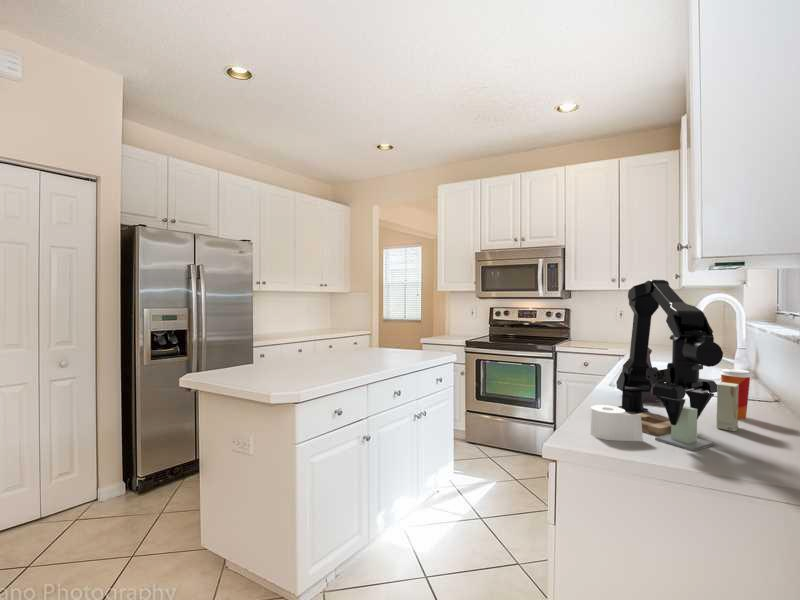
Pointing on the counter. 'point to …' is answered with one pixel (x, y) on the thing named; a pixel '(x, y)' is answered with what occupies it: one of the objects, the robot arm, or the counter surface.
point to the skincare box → (727, 406)
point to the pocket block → (655, 424)
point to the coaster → (690, 446)
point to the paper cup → (743, 381)
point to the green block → (685, 426)
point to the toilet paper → (615, 424)
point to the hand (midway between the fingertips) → (684, 422)
